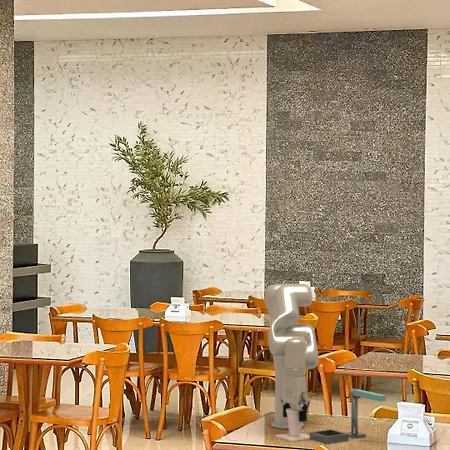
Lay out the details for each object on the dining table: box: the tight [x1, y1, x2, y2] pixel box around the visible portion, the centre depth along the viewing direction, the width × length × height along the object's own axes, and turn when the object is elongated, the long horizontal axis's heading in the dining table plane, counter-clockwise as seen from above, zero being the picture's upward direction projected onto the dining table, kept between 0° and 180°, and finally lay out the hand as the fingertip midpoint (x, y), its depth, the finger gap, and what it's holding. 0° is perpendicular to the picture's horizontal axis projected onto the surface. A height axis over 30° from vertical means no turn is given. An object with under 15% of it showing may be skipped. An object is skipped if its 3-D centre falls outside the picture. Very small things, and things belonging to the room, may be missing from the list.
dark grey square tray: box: [309, 428, 349, 445], centre depth 364 cm, size 10×10×2 cm
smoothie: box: [286, 404, 302, 437], centre depth 368 cm, size 6×6×14 cm
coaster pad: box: [275, 432, 311, 442], centre depth 368 cm, size 10×10×1 cm
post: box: [346, 394, 367, 439], centre depth 370 cm, size 6×6×15 cm
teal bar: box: [350, 388, 387, 402], centre depth 364 cm, size 18×3×2 cm, turn 32°
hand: (294, 419), depth 368 cm, fingers open, 9 cm apart
